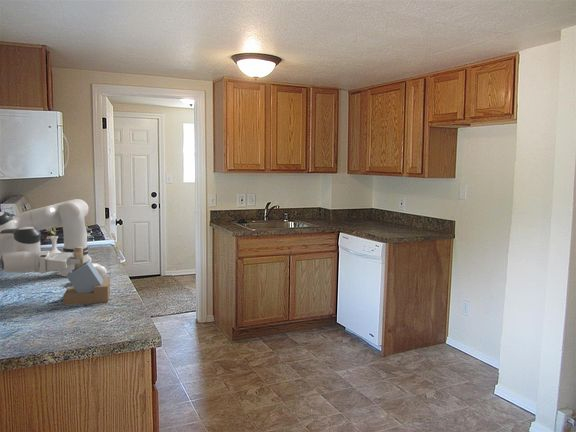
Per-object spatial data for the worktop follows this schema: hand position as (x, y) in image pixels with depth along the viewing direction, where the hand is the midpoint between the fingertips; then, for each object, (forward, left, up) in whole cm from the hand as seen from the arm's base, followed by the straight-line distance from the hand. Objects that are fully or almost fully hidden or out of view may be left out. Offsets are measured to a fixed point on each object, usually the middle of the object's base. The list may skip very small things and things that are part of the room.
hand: (81, 260), depth 200 cm
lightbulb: (-16, +6, -17) cm, 24 cm away
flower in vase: (-90, -25, -17) cm, 95 cm away
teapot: (-31, 0, -17) cm, 36 cm away
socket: (0, +2, -17) cm, 17 cm away
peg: (0, -1, -6) cm, 7 cm away
